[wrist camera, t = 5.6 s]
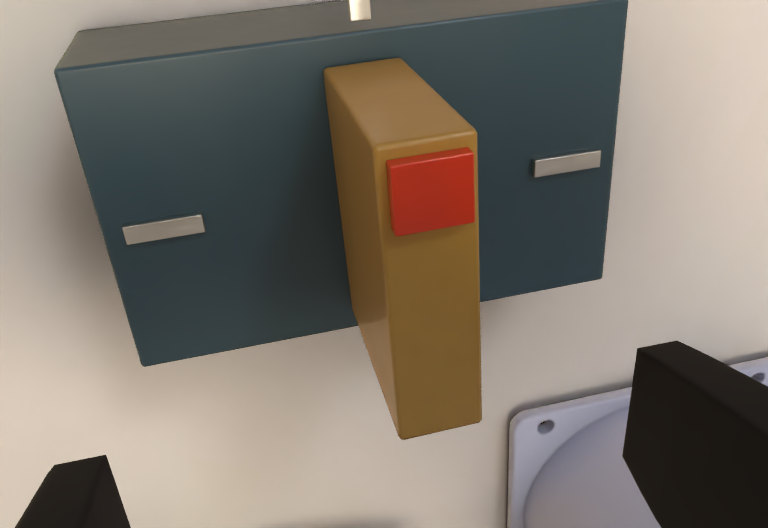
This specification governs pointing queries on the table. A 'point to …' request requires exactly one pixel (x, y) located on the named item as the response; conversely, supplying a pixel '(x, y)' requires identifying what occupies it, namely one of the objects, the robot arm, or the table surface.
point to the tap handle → (410, 240)
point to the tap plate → (329, 154)
